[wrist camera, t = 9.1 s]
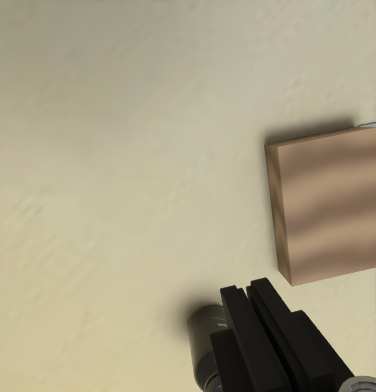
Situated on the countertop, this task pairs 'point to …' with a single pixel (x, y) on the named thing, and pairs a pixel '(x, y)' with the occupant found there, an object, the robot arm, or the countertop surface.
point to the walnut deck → (324, 203)
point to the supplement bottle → (205, 346)
